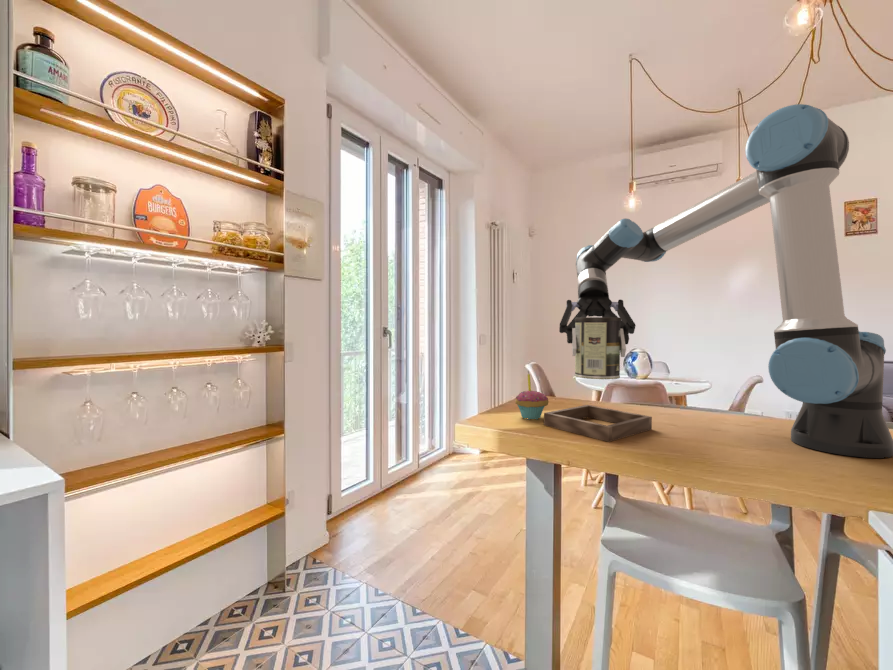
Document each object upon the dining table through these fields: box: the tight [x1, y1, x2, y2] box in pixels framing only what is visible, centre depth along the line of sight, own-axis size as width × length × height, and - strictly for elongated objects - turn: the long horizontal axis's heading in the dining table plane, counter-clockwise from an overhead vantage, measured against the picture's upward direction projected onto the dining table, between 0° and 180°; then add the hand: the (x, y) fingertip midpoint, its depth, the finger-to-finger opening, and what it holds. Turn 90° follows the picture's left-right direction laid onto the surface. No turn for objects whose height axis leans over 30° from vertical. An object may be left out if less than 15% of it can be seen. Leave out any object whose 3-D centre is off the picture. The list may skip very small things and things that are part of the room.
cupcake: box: [514, 370, 550, 420], centre depth 109 cm, size 9×8×12 cm
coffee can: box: [574, 316, 621, 380], centre depth 99 cm, size 10×10×14 cm
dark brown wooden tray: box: [543, 404, 653, 443], centre depth 99 cm, size 17×17×3 cm
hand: (598, 352), depth 96 cm, fingers closed on coffee can, 10 cm apart
